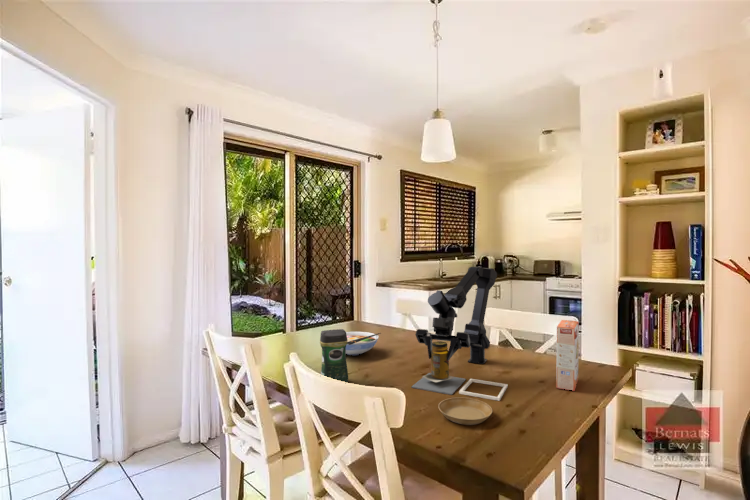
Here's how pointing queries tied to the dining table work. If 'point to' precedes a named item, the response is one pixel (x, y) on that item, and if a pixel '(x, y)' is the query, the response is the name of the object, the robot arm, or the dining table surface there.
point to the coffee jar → (334, 354)
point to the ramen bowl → (360, 342)
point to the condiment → (439, 362)
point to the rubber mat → (439, 385)
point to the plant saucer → (465, 410)
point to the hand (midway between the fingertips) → (438, 359)
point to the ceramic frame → (482, 394)
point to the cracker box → (567, 354)
